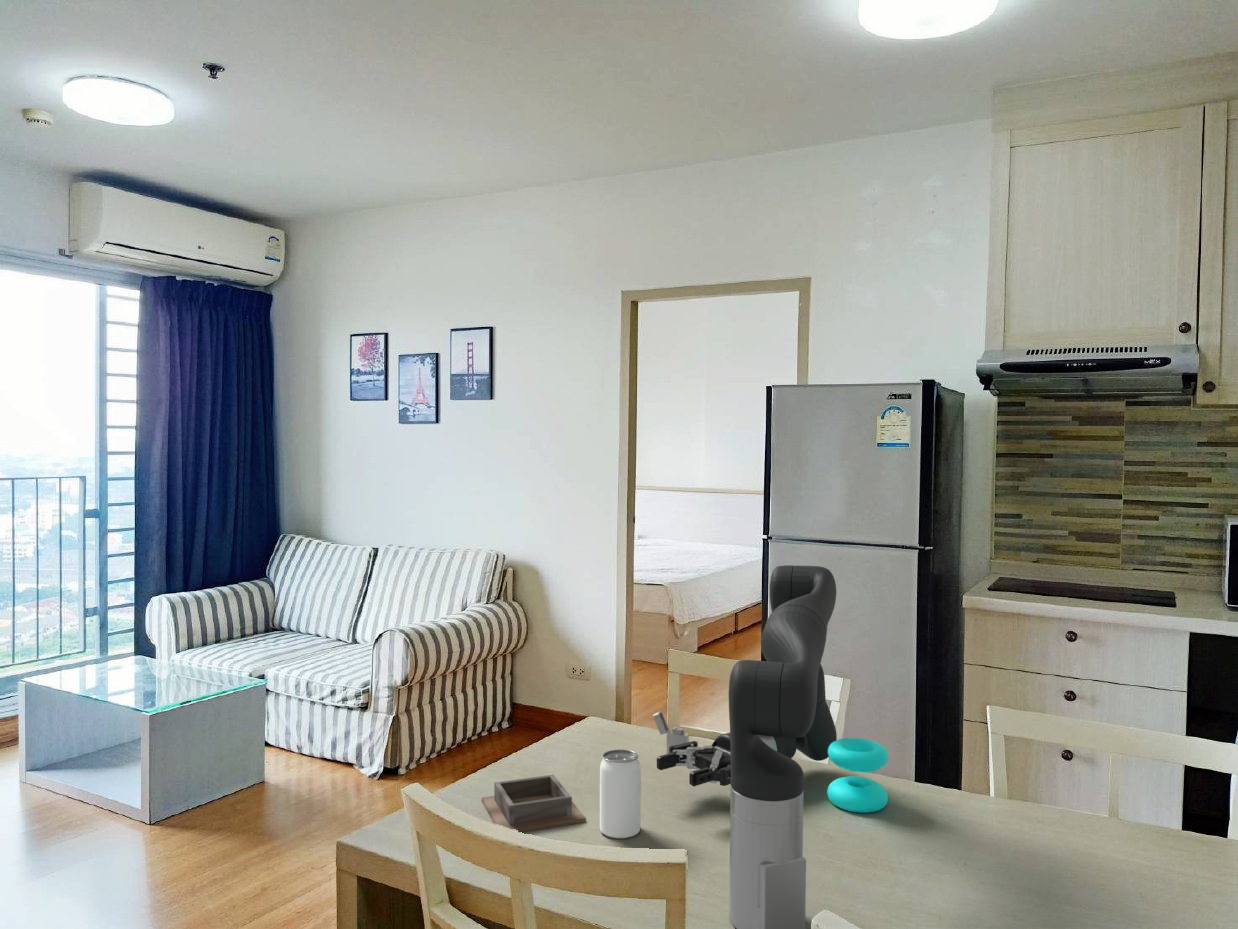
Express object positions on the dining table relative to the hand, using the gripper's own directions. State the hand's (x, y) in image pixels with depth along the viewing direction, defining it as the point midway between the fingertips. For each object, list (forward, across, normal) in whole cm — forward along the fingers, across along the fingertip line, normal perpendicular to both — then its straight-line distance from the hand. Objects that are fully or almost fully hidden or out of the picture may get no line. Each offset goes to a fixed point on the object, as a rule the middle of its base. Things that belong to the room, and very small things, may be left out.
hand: (674, 771), depth 144 cm
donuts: (-28, +15, +7) cm, 33 cm away
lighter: (-18, -22, +7) cm, 29 cm away
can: (+11, 0, +7) cm, 13 cm away
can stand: (+19, -14, +7) cm, 25 cm away
